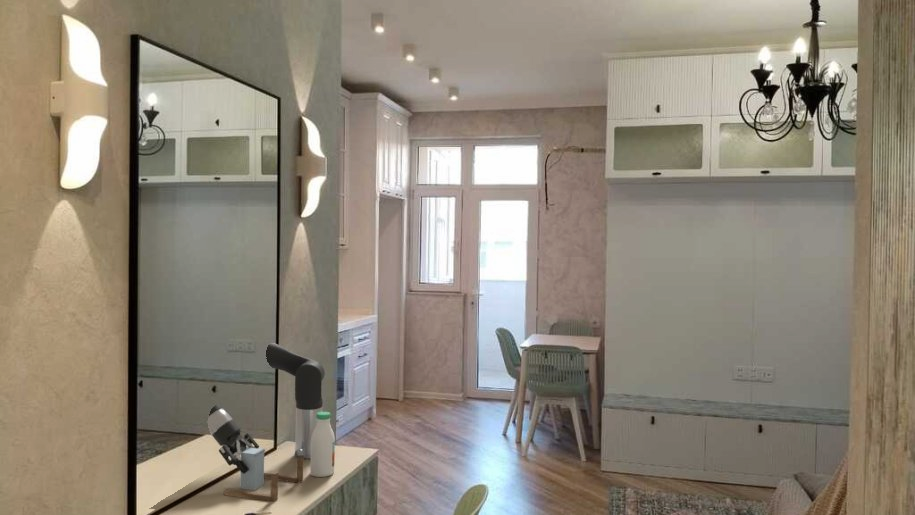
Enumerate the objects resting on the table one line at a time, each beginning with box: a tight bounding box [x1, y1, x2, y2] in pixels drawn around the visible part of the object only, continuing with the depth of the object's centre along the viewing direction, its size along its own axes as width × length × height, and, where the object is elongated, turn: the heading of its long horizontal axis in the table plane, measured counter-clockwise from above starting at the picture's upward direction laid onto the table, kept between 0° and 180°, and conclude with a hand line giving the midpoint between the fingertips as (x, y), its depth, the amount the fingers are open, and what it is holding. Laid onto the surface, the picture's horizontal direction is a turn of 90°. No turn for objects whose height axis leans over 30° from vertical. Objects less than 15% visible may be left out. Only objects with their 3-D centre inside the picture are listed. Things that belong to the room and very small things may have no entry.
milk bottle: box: [309, 411, 336, 478], centre depth 216 cm, size 8×8×20 cm
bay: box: [223, 456, 304, 502], centre depth 203 cm, size 18×17×8 cm
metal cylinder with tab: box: [294, 441, 306, 459], centre depth 209 cm, size 4×2×4 cm, turn 166°
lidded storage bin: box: [239, 448, 266, 491], centre depth 204 cm, size 5×5×11 cm
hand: (254, 467), depth 204 cm, fingers open, 8 cm apart
